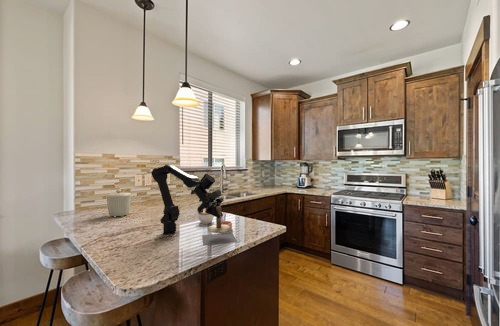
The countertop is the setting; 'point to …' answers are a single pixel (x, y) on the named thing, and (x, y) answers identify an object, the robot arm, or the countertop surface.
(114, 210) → the canister
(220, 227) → the disc with tall peg
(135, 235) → the countertop surface
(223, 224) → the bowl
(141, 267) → the countertop surface
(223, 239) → the mat
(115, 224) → the countertop surface
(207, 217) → the lidded jar
